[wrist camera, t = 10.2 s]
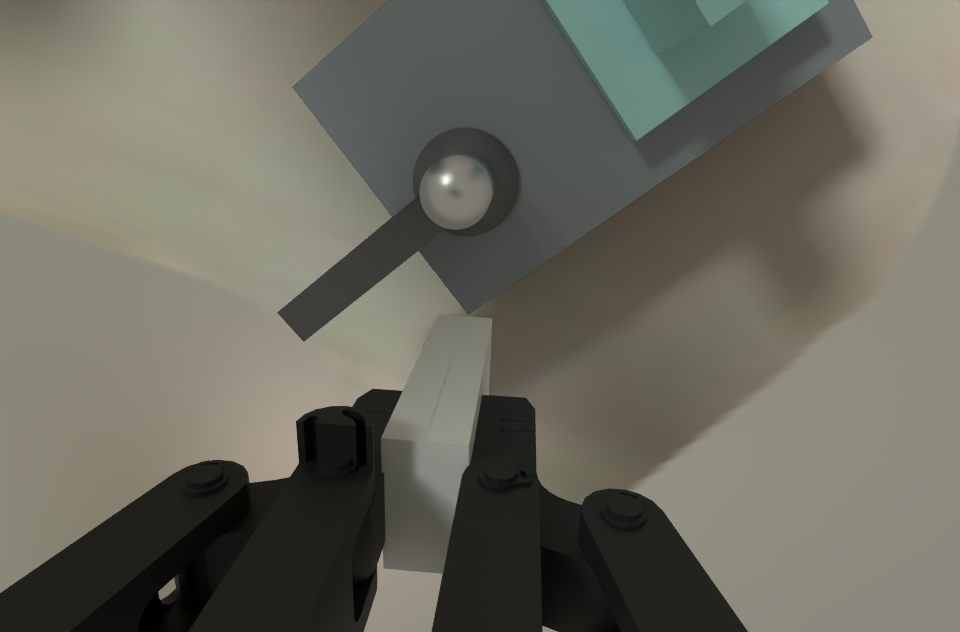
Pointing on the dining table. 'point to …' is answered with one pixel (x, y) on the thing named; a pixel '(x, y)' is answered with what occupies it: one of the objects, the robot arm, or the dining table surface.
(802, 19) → the cover
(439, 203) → the grey lever handle
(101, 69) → the dining table surface
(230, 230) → the dining table surface
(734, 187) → the dining table surface
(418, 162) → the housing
